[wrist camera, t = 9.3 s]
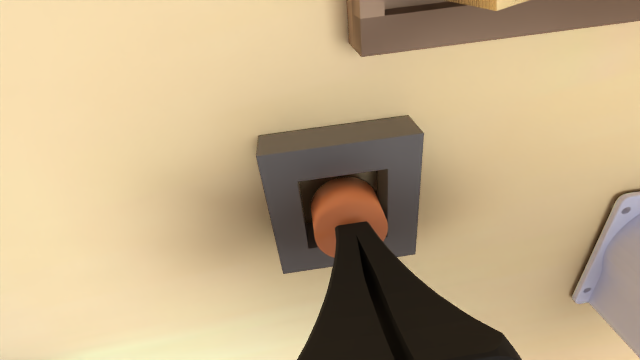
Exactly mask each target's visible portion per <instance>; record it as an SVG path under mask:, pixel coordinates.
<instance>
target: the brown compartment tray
mask: <svg viewBox="0 0 640 360" xmlns="http://www.w3.org/2000/svg"><path fill="white" fill-rule="evenodd" d="M347 12H348V31H349V44H350V45H351V46H352V47H353V48H354V49H355V50H356V51H357V52H358V53H359V55H360V56H361V57H365V56H372V55H380V54H388V53H395V52H403V51H411V50H419V49H426V48H434V47H442V46H449V45H457V44H465V43H472V42H480V41H488V40H496V39H503V38H511V37H519V36H526V35H534V34H542V33H550V32H557V31H565V30H573V29H580V28H588V27H596V26H603V25H611V24H619V23H627V22H634V21H640V0H529V1H525V2H522V3H519V4H516V5H513V6H510V7H507V8H504V9H501V10H498V11H494V10H489V9H484V8H480V7H475V6H470V5H465V4H460V3H455V2H450V1H445V0H347Z"/></svg>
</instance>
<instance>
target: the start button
mask: <svg viewBox="0 0 640 360" xmlns="http://www.w3.org/2000/svg"><path fill="white" fill-rule="evenodd" d="M311 213H312V221H313V229H314V237H315V241H316V244H317V246H318V247H319V249H320V250H321V251H322V252H324V253H325V254H327V255H328V256H331V257H333V258H334V257H335V249H336V235H335V227H336V226H338V225H345V224H351V223H358V222H365V221H367V222H368V223H369V224H370V225H371V227H372V228H373V230H374V231H375V232H376V234H377V235H378V236H379V237H380V239H381V240H382V241H384V239H385V237H386V235H387V231H388V223H387V219H386V217H385V215H384V212H383V210H382V208H381V205H380V203H379V200H378V198H377V196H376V193H375V191H374V189H373V188H372V187H371V186H370V184H368V183H367V182H365V181H364V180H362V179H359V178H355V177H340V178H335V179H332V180H330V181H328V182H326V183H325V184H323V185H322V186H321V187H320V188H319V189H318V190H317V191H316V192H315V194H314V196H313V198H312V201H311Z"/></svg>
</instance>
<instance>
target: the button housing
mask: <svg viewBox="0 0 640 360" xmlns="http://www.w3.org/2000/svg"><path fill="white" fill-rule="evenodd" d="M423 138H424V133H423V132H422V130H421V129H420V128H419V127H418V126H417V125H416V124H415V122H414V121H413V120H412V119H411V118H410V117H409V116H400V117H393V118H386V119H378V120H371V121H364V122H356V123H349V124H341V125H334V126H327V127H319V128H312V129H305V130H297V131H290V132H283V133H275V134H268V135H260V136H259V137H258V145H257V153H256V158H257V162H258V166H259V171H260V175H261V179H262V184H263V188H264V192H265V197H266V201H267V205H268V210H269V214H270V218H271V223H272V227H273V231H274V236H275V240H276V244H277V248H278V253H279V257H280V261H281V266H282V270H283V274H286V273H292V272H299V271H306V270H312V269H319V268H326V267H333V264H334V258H333V257H331V256H328V255H327V254H325V253H324V252H322V251H321V250H320V249H319V247H318V246H317V244H316V241H315V237H314V229H313V222H310V223H306V221H305V215H304V208H303V202H302V196H301V190H300V184H299V181H306V180H313V179H320V178H327V177H335V176H342V175H349V174H356V173H363V172H370V171H377V192H378V200H379V203H380V205H381V208H382V210H383V212H384V215H385V217H386V219H387V223H388V231H387V235H386V237H385V239H384V241H383V242H384V244H385V245H386V246H387V247H388V248H389V249H390V250H391V252H392V253H393V254H394V255H395V256H396V257H400V256H407V255H413V254H415V251H416V237H417V223H418V209H419V195H420V180H421V166H422V152H423Z"/></svg>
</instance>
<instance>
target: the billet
mask: <svg viewBox="0 0 640 360" xmlns="http://www.w3.org/2000/svg"><path fill="white" fill-rule="evenodd" d="M445 1H450V2H455V3H460V4H465V5H470V6H475V7H480V8H484V9H489V10H494V11H498V10H501V9H504V8H507V7H510V6H513V5H516V4H519V3H522V2H525V1H529V0H445Z"/></svg>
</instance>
